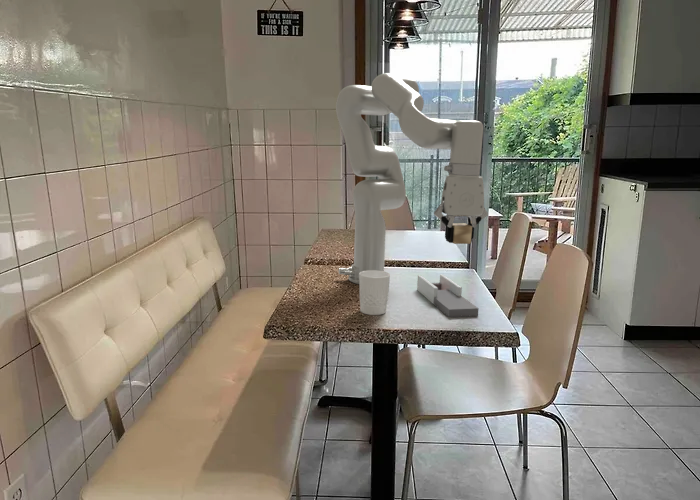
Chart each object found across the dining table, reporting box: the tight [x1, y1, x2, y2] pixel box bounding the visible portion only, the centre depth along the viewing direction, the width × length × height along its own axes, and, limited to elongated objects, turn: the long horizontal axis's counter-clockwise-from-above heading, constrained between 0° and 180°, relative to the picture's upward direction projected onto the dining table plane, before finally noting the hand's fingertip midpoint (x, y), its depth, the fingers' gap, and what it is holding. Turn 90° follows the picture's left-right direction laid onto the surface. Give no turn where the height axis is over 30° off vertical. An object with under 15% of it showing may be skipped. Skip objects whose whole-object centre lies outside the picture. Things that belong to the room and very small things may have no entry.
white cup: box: [358, 270, 391, 316], centre depth 138 cm, size 8×8×10 cm
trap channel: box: [416, 274, 479, 318], centre depth 149 cm, size 8×25×4 cm, turn 12°
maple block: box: [451, 222, 472, 245], centre depth 139 cm, size 4×4×4 cm
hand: (458, 241), depth 139 cm, fingers closed on maple block, 4 cm apart
